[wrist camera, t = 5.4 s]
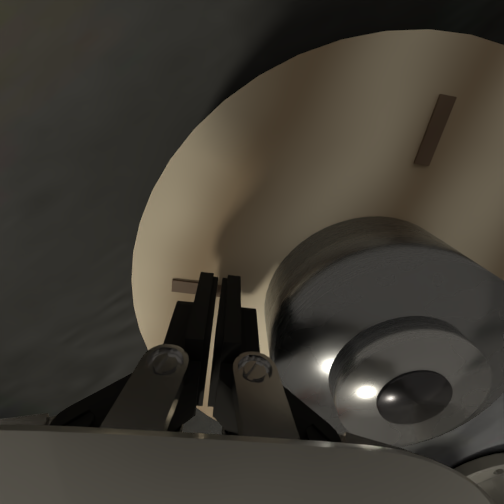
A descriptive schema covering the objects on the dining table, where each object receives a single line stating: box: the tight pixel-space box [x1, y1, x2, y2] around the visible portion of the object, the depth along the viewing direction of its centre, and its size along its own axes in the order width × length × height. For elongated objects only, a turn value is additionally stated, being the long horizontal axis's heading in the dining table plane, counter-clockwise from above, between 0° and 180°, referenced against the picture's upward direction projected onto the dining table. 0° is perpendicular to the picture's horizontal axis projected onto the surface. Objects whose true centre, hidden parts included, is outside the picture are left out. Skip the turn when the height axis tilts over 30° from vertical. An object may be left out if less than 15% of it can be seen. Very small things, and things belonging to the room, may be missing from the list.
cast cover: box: [264, 216, 504, 447], centre depth 12 cm, size 9×9×5 cm
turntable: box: [132, 29, 504, 420], centre depth 15 cm, size 22×22×2 cm
